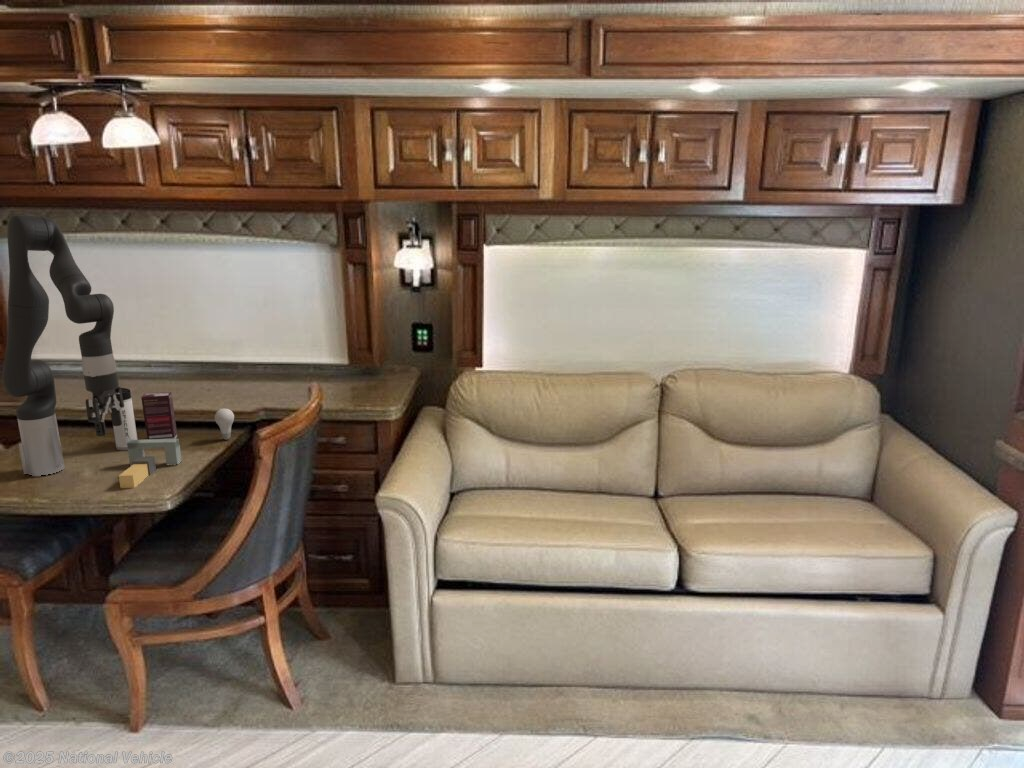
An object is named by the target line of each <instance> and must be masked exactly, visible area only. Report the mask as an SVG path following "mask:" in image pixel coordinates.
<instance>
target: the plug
mask: <svg viewBox="0 0 1024 768" xmlns="http://www.w3.org/2000/svg"><path fill="white" fill-rule="evenodd" d="M155 459H156V458H155V456H153V455H152V456H145V457H137V458H136V459H135V460H133V461H132V466H130V467H128V468H127V469H125V470H123V472H122V473H120V474H119V475H118V482H119V485H120V489H135V488H136V487H138V486H139V485H140V484H142V482H143V481H145V480H146V479H147V478H148V477H149V476H148V475H151V474H152V473H153V472H154V471H155V470H156V471H157V468H156V460H155ZM156 471H155V472H156ZM155 472H154V473H155ZM154 473H153V474H154ZM153 474H152V475H153ZM152 475H151V476H152ZM147 476H148V477H147ZM146 477H147V478H146ZM145 478H146V479H145ZM144 479H145V480H144ZM138 484H139V485H138Z"/></svg>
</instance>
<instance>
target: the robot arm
mask: <svg viewBox="0 0 1024 768" xmlns="http://www.w3.org/2000/svg"><path fill="white" fill-rule="evenodd" d="M6 231H7V233H6V234H7V237H6V238H7V249H8V250H7V252H8V265H9V266H8V267H9V270H8V271H9V278H8V280H9V284H8V298H7V335H6V336H7V337H6V349H5V355H4V362H3V368H2V384H3V387H4V389H5V391H6V392H7V393H8V394H9V395H10V396H12V397H14V398H24V397H26V398H25V400H24V402H22V403H21V404H20V405H19V406H17V408H16V410H15V411H16V412H15V413H16V414H15V415H16V419H17V424H18V430H19V434H20V440H21V442H20V443H19V444H18V449H19V455H20V460H21V465H22V471H23V475H24V474H29V475H32V476H31V477H42V476H41V475H46V476H49V475H48V474H51V475H54V474H53V473H55V474H56V472H58V473H60V472H62V471H63V470H65V461H64V456H63V450H62V444H61V439H60V434H59V425H58V420H57V414H56V411H55V410H56V405H57V396H56V395H57V394H56V384H55V377H54V373H53V371H52V369H51V368H50V366H49V365H48V364H47V363H46V362H45V361H44V360H40V359H35V360H32V354H33V352H34V351H33V350H34V349H35V346H36V344H37V343H38V341H39V339H40V337H41V336H42V334H43V332H44V330H45V329H46V327H47V325H48V323H49V322H48V321H49V309H50V298H49V295H48V293H47V291H46V289H45V288H44V287H43V286H42V284H41V283H40V281H39V280H38V278H37V277H36V276H35V274H34V272H33V270H32V269H31V267H30V262H29V257H28V256H29V255H28V254H29V253H28V252H29V251H33V252H34V251H37V252H46V251H47V252H50V253H51V254H52V255H53V258H52V261H51V263H50V266H49V277H50V279H51V281H52V283H53V285H54V286H55V287H56V289H57V290H58V292H59V293H60V295H61V297H62V301H63V304H64V310H65V315H66V317H67V318H68V320H69V321H71V322H73V323H75V324H78V325H83V324H88V323H89V324H90V323H95V326H94V327H93V328H92V329H90V330H87V331H85V332H82V333H80V334H79V335H78V344H79V349H80V355H81V368H82V373H83V374H82V375H83V381H84V386H85V390H86V391H87V392H91V394H92V398H87V399H85V406H86V416H87V421H88V423H94V428H95V435H96V436H97V437H105V436H106V435H107V434H108V433H107V429H106V428H107V427H106V422H105V418H106V415H107V414H108V413H109V412H110V419H111V422H112V423H111V424H112V427H113V426H120V425H122V420H121V414H120V412H121V408H123V407H124V402H123V396H122V391H121V388H122V387H121V386H120V383H119V377H118V370H117V364H116V360H115V359H116V358H115V357H114V353H113V352H114V351H113V346H112V339H111V337H112V335H111V333H112V327H113V325H112V324H113V320H114V312H115V308H114V303H113V301H112V299H111V298H110V296H108V295H107V294H105V293H93V294H91V293H92V286H91V283H90V281H89V280H88V279H87V277H86V276H85V275H84V273H83V271H82V270H81V269H80V268H79V266H78V265H77V263H76V261H75V259H74V256H73V255H72V252H71V249H70V248H69V245H68V243H67V240H66V238H65V236H64V234H63V232H62V229H61V227H60V226H59V224H58V223H57V221H55V220H54V219H53V218H51V217H46V216H41V215H40V216H39V215H29V214H28V215H27V214H13V215H12V216H10V218H9V220H8V222H7V230H6ZM118 400H119V401H118ZM119 402H120V403H119ZM111 412H112V413H111ZM61 470H62V471H61ZM59 471H60V472H59ZM29 475H28V476H29Z"/></svg>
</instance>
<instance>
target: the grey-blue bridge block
mask: <svg viewBox="0 0 1024 768" xmlns="http://www.w3.org/2000/svg"><path fill="white" fill-rule="evenodd" d="M127 447H128V450H127V453H128V459H129V460H128V461H129V466H130V467H131V466H132V461H133V460H135V459H136V458H137V457H146V454H145V449H147V450H148V449H152V450H153V449H164V454H165V464H166V465H167V464H169V465H170V464H179V463H180V462H181V461H182V453H181V446H180V438H175V439H137V440H131V441H129V442H128V443H127ZM181 463H182V462H181ZM181 463H180V464H181ZM180 464H179V465H180Z"/></svg>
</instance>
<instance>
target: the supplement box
mask: <svg viewBox="0 0 1024 768" xmlns="http://www.w3.org/2000/svg"><path fill="white" fill-rule="evenodd" d="M172 394H173V393H172V392H171V391H168V392H152V393H143V395H142V396H140V399H141V405H142V411H143V412H142V413H143V419H144V424H145V431H146V438H147V439H177V437H178V432H177V431H178V430H177V424H176V423H177V422H176V416H175V409H174V401H173V395H172ZM147 439H146V440H147Z"/></svg>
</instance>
